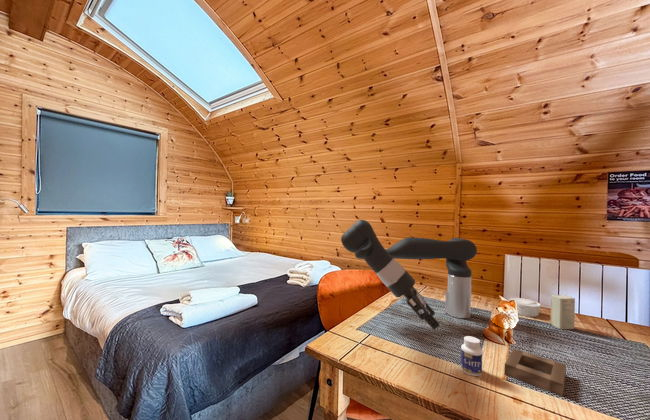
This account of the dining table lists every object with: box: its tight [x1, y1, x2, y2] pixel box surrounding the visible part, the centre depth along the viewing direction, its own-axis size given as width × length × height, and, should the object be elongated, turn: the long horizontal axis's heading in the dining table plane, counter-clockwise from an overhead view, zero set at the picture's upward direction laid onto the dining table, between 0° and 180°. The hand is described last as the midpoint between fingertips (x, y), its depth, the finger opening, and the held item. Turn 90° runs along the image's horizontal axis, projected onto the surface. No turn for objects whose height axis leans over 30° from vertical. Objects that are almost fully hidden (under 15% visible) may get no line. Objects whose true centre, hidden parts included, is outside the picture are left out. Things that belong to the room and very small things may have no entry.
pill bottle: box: [460, 335, 483, 377], centre depth 75 cm, size 5×5×9 cm
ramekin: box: [509, 297, 542, 318], centre depth 121 cm, size 11×11×5 cm
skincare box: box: [550, 294, 576, 330], centre depth 106 cm, size 6×4×12 cm
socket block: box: [504, 348, 567, 397], centre depth 74 cm, size 12×12×3 cm
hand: (434, 320), depth 77 cm, fingers open, 8 cm apart
